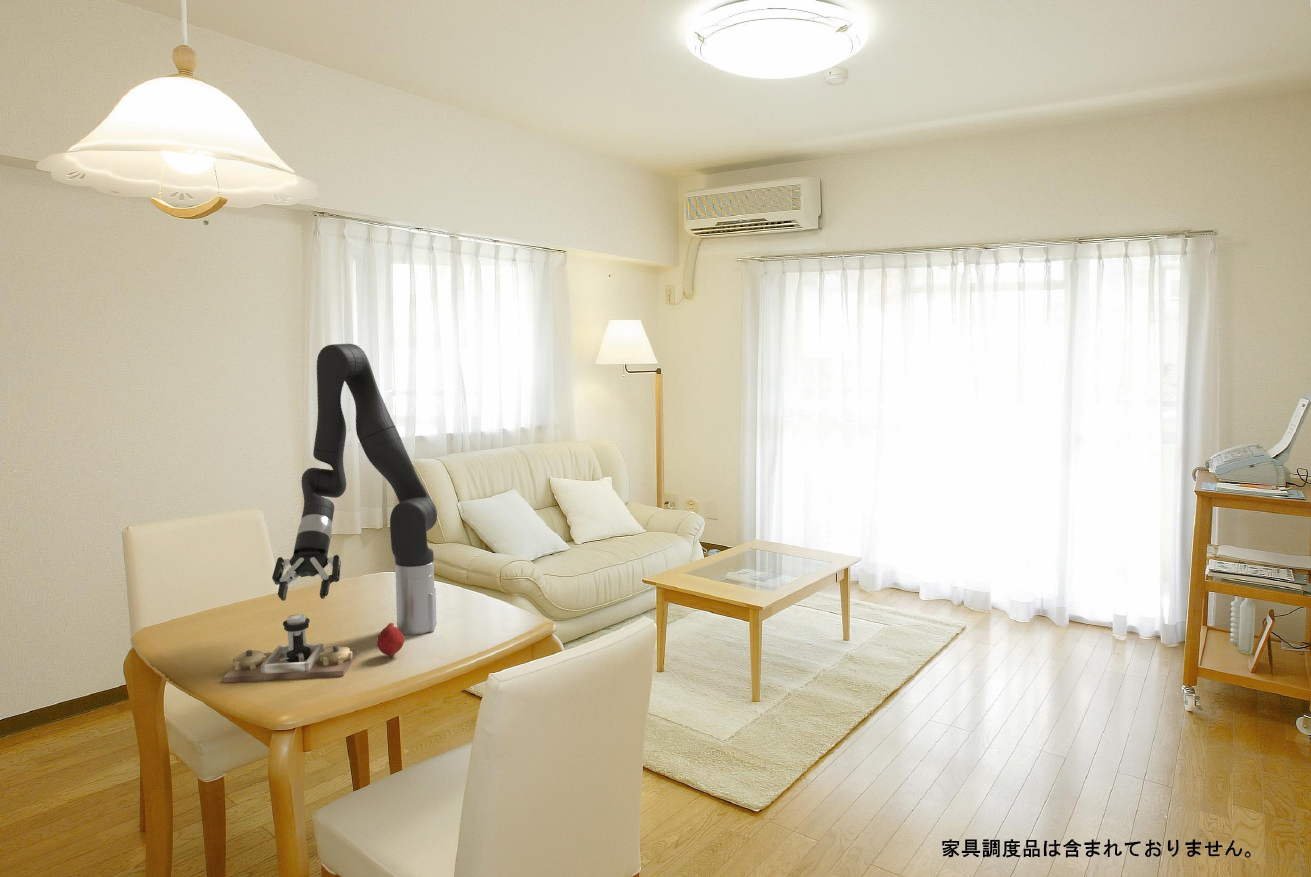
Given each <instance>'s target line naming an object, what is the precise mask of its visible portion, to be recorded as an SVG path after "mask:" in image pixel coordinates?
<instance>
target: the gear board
mask: <svg viewBox="0 0 1311 877" xmlns="http://www.w3.org/2000/svg"><path fill="white" fill-rule="evenodd" d="M306 644H307V643H306ZM306 646H307V647H309V648H310V651H311V656H310V657H309V658H308V660H304V661H302V662H295V663H283V662H285V661H286V659H285V660H283V658H285V652H286V651H289V650H288V648H289V644H287V645H285V644H284V645H277V647H276V648H275V649H274V650H273V651H272V652H264V651H262V650H252V649H248V650H245V651H243V652H241V653H238V654H237V655H235V656H234V657H232V667H231V669H229V671H228V672H226V673H225V675H224V676H223V677H222V678H223V683H226V684H227V683H239V682H240V683H242V682H243V683H244V682H258V681H259V682H260V681H278V680H296V679H299V680H300V679H312V678H313V679H315V678H333V677H336V678H337V677H344V676H345V675H346V673H347V671H348V670H349V668H350V667H351V664H352V663H353V662H354V660H355V659H356V656H357V655H358V648H349V647H347V646H340V645H334V646H332V647H329V648H326V649H324V643H308V644H307V645H306ZM280 659H282V661H281V660H280Z"/></svg>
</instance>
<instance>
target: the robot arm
mask: <svg viewBox="0 0 1311 877" xmlns="http://www.w3.org/2000/svg"><path fill="white" fill-rule="evenodd" d="M344 384H346V386H347V387H348V390H349V392H350V394H351V396H352V398H353V401H354V404H355V405H354V406H355V432H356V436H357V439H358V441H359V443H360V445H361V447H362V450H363V451H364V454H365V456H366V458H367V460H368V461H369V462H370V464H371V465H372V466H373V467H374V468H375V469H376V470H377V472H379V473H380V474H381V476H383V477H384V479H385V480H386V481H388V483H389V485H390V486H391V487H392V489H393V492H394V493H395V495H396V498H397V500H398V502H399V503H397V504H396V505H395V506H394V507H393V508H392V510H391V513H390V518H389V529H390V531H389V532H390V544H391V552H392V554H393V557H394V563H395V564H394V566H395V602H396V605H395V606H396V608H395V609H396V628H398V629H399V630H400V631H401V632H402V634H403V635H409V636H410V635H420V634H421V635H422V634H427V633H430V632H434V631H435V628H436V626H437V593H436V592H437V588H436V587H435V560H434V558H435V557H434V555H435V554H434V550H433V549H432V548H430V547H429V545H428V537H427V536H428V535H427V534H428V533H427V532H429V531H430V530H431V529H432V528H434V526H435V525H436V523H437V520H438V511H437V507H436V505H435V503H434V501H433V499H432V497H431V496H430V494H429V493H428V491H427V489H426V488H425V486H424V484H423V483H422V481H421V479H420V477H419V476H418V474H417V471H416V470H415V467H414V465H413V463H412V460H411V458H410V457H409V454H408V451H407V449H406V447H405V446H404V443H403V440H402V438H401V436H400V433H399V431H398V429H397V427H396V425H395V423H394V421H393V419H392V417H391V415H390V412H389V411H388V408H387V406H386V403H385V402H384V398H383V397H382V394H381V392H380V390H379V386H378V384H377V381H376V379H375V376H374V373H373V370H372V366H371V364H370V361H369V358H368V357H367V354H366V353H365V351H364V350H363V348H361V347H360V346H358V345H357V344H353V343H340V344H338V343H335V344H334V343H333V344H328V345H326V346H324V347H322V348H321V350H320V351H319V353H318V355H317V358H316V385H317V387H316V388H317V390H316V393H317V395H316V396H317V419H316V420H317V423H316V431H315V437H314V444H313V452H312V453H313V455H312V456H313V458H314V459H315V460H316V461H318V462H321V463H324V464H326V465H329V466H330V467H331V468H332V469H329V468H320V467H310V468H307V469H306V470H305V471H304V472H303V474H302V476H301V481H300V482H301V489H302V496H303V509H302V514H301V519H300V523H299V525H298V529H297V532H296V533H297V534H296V538H295V543H294V544H295V545H294V548H293V554H292V557H291V558H289V559H284V558H283V557H282V556H279V557H278V558H277V559H276V564H275V566H274V570H273V573H272V577H271V578H272V579H271V580H272V581H273V583H274V585H275V586H276V585H277V586H278V585H279V586H278V590H277V596H278V598H279V599H280V600H281V601H283V602H285V601H286V600H287V593H288V589H289V584H291V583H292V582H293V581H296V580H297V579H298V578H299V577H300V578H305V577H310V578H311V577H316V576H317V575H318V576H319V577H320V579H321V584H320V590H319V597H320V599H321V600H322V599H326V597H328V595H329V593H330V592H329V591H330V586H331V584H332V583H338V582H339V581H340V576H341V566H342V565H341V564H342V561H341V557H340V556H339V555H338V554H335V555H333V557H331V556H330V557H328V555H329V549H330V544H331V539H332V533H333V532H332V530H333V528H332V527H333V521H334V520H333V519H334V515H335V504H334V502H333V501H331V499H328V498H333V499H334V498H335V499H338V498H340V497H341V496H342V495H343V494H344V493H345V491H346V490H347V478H346V473H345V465H344V452H345V446H346V439H347V438H346V437H347V424H346V420H345V419H346V418H345V416H344V413H343V408H342V402H341V401H342V391H343V387H344ZM329 564H330V566H331V567H332V570H331V574H328V573H327V572H326V571H325V568H326V566H328V565H329ZM288 566H290V567H289V568H288V569H287V567H288ZM286 569H287V571H286V573H285V574H284V571H285V570H286Z"/></svg>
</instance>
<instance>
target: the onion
mask: <svg viewBox="0 0 1311 877" xmlns="http://www.w3.org/2000/svg"><path fill="white" fill-rule="evenodd" d="M404 643H405V636H404V634H402V632H401V631H400V630H399V629H398V628H397V626H395V625H394V622H393V621H391V622H389V623H388V624H386V626H385V627H384V628H383V629H381V631H380V632H379V634H378V635H377V639H376V646H377V648H378V650H379V652H381V653H382V654H383V655H385V656H388V657H389V658H390V657H394V656H395V655H396V654H397V653H398V652H399V651H401V649H402V648H403V646H404Z"/></svg>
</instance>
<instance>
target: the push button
mask: <svg viewBox="0 0 1311 877" xmlns="http://www.w3.org/2000/svg"><path fill="white" fill-rule="evenodd" d="M310 621H311V620H310V618H308V617H306V615H305V614H301V613H299V614H292V615H289V616H287V618H286V620H284V621H283V622H282V626H283V629H284V630H285V631H286V632H287V636H288V637H287V639H288V641H287V642H288V645H289V648H288V650H289V651H286V652H285V658H283V660H285V659H286V661H285V662H283V663H295V662H302V661H304V660H308V658H309V657H310V656H311V651H310V648H309V647H307V646H306V645H307V643H306V629H308V628H309V624H310ZM280 660H281V661H282V659H280Z"/></svg>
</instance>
